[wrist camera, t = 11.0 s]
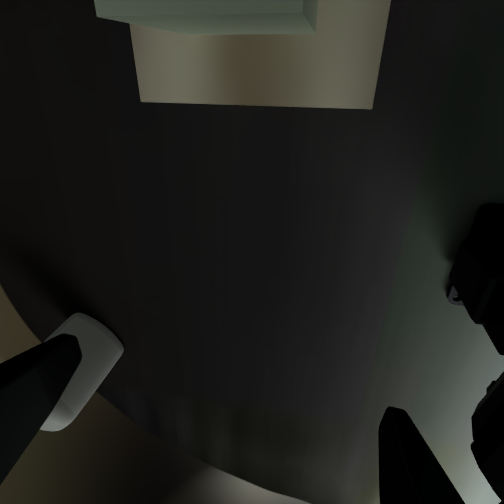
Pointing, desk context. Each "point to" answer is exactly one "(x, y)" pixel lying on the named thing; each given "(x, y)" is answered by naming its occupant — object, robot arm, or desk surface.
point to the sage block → (215, 15)
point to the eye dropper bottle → (84, 367)
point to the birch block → (269, 62)
